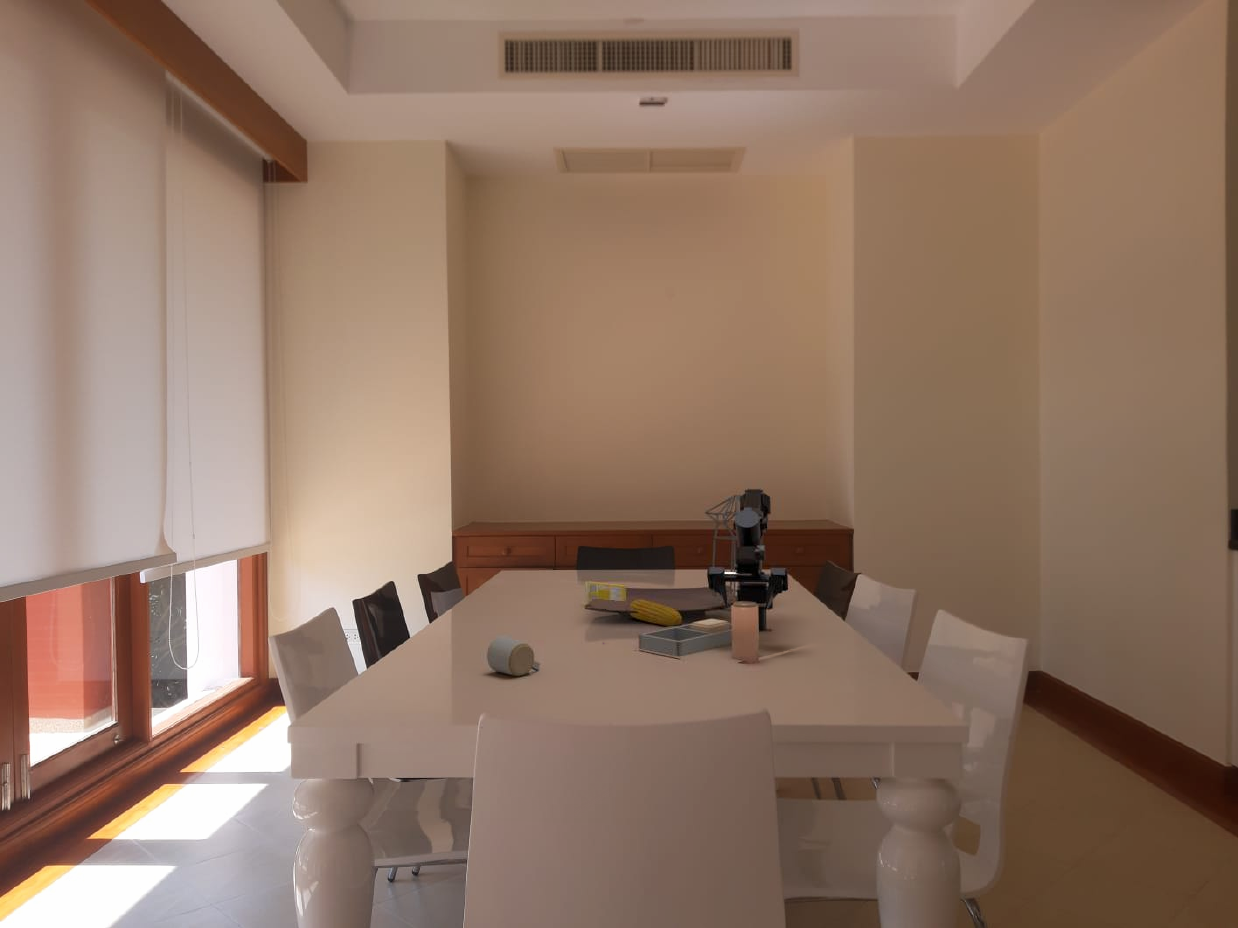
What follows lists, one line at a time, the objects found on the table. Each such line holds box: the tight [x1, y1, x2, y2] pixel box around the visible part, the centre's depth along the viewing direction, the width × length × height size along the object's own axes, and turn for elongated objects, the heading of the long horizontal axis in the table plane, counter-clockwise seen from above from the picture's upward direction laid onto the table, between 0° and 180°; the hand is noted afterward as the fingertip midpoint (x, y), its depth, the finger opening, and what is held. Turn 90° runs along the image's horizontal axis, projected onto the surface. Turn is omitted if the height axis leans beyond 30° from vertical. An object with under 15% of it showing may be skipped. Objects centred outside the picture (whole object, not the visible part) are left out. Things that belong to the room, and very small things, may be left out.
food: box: [629, 598, 683, 627], centre depth 241 cm, size 21×6×6 cm, turn 37°
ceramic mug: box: [486, 635, 541, 677], centre depth 186 cm, size 11×8×8 cm
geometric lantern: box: [703, 494, 742, 611], centre depth 265 cm, size 16×16×35 cm
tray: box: [638, 622, 732, 661], centre depth 209 cm, size 25×13×4 cm, turn 134°
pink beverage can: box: [730, 601, 760, 665], centre depth 194 cm, size 6×6×13 cm
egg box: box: [690, 618, 731, 633], centre depth 213 cm, size 8×6×4 cm
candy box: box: [584, 580, 627, 606], centre depth 265 cm, size 16×2×8 cm, turn 46°
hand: (746, 607), depth 198 cm, fingers open, 9 cm apart
